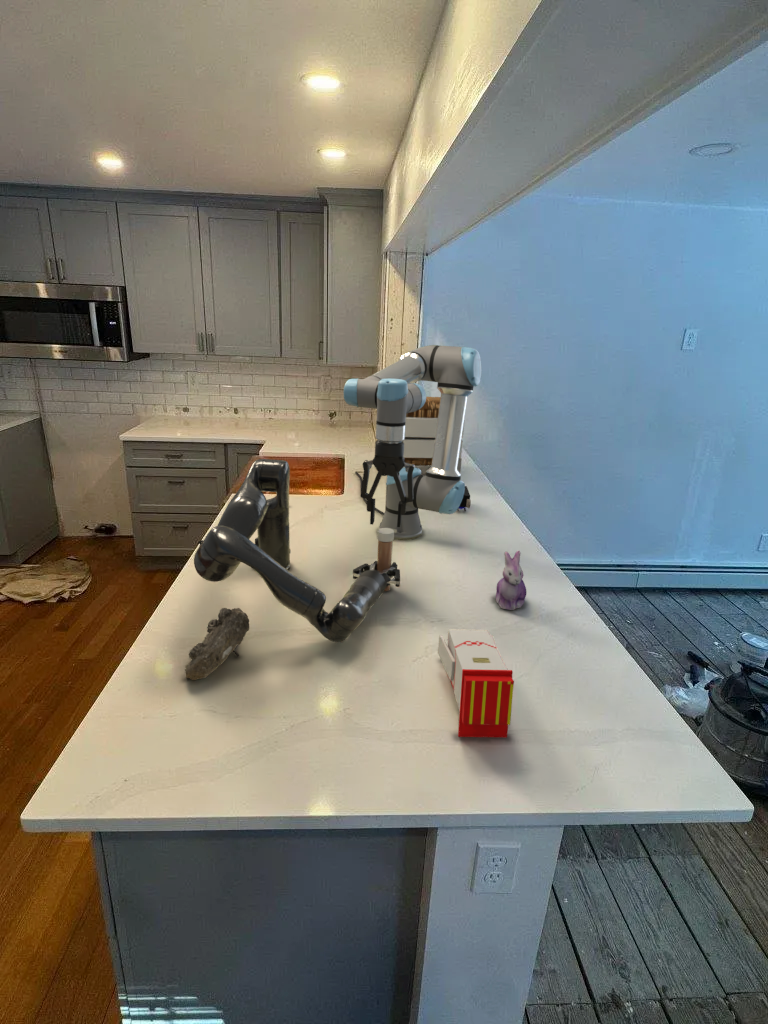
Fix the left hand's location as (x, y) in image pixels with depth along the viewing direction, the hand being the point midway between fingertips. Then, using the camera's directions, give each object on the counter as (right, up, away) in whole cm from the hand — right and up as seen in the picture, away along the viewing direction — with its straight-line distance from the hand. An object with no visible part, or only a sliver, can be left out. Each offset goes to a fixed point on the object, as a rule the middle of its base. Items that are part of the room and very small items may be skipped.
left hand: (387, 564), depth 161 cm
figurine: (+34, -10, -5) cm, 36 cm away
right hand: (0, +12, -7) cm, 14 cm away
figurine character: (+30, +16, +68) cm, 76 cm away
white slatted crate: (+16, +34, +114) cm, 120 cm away
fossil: (-37, -17, -34) cm, 53 cm away
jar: (-1, -7, 0) cm, 7 cm away
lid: (0, +9, -6) cm, 11 cm away
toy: (+17, -23, -42) cm, 51 cm away
